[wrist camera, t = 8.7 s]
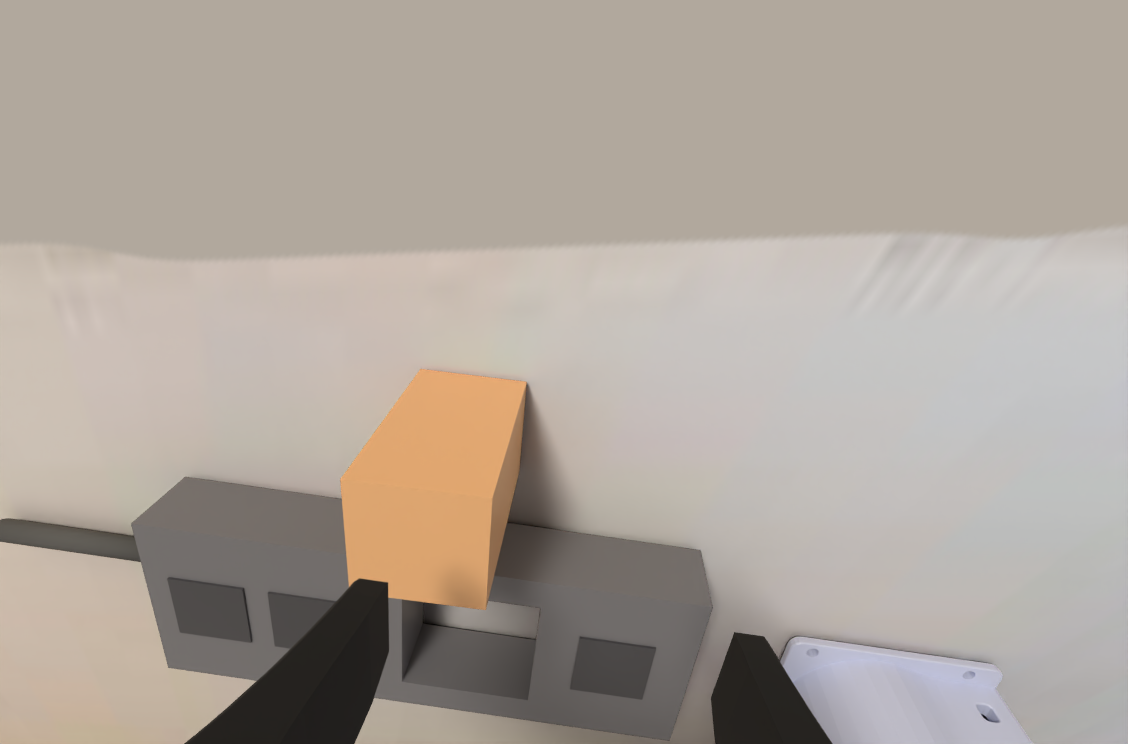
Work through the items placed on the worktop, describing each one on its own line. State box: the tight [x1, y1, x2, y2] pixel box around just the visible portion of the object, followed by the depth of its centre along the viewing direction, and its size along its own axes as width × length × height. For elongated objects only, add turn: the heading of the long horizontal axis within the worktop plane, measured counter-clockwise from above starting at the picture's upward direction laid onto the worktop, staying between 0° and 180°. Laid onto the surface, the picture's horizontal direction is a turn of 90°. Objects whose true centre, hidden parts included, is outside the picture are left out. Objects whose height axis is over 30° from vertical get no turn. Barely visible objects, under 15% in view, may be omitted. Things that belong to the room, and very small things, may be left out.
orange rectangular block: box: [340, 369, 527, 610], centre depth 19 cm, size 4×4×7 cm
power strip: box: [0, 477, 713, 741], centre depth 24 cm, size 31×8×3 cm, turn 83°
